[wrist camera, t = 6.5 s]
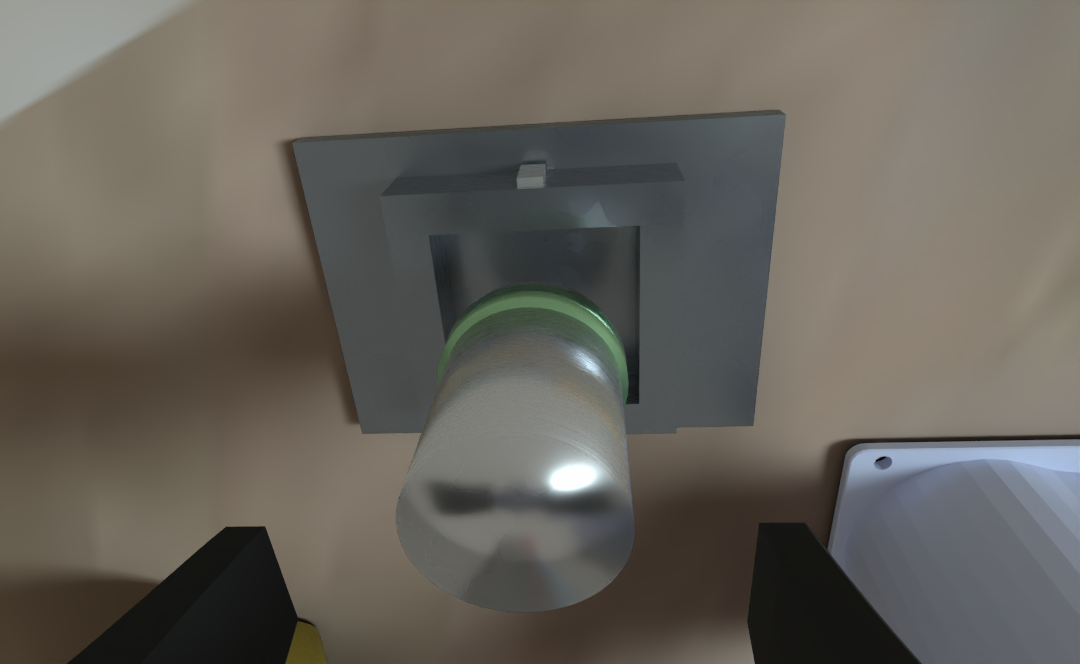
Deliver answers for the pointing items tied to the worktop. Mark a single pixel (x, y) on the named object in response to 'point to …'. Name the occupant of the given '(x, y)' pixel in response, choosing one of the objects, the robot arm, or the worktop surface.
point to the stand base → (554, 250)
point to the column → (523, 455)
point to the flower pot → (306, 646)
